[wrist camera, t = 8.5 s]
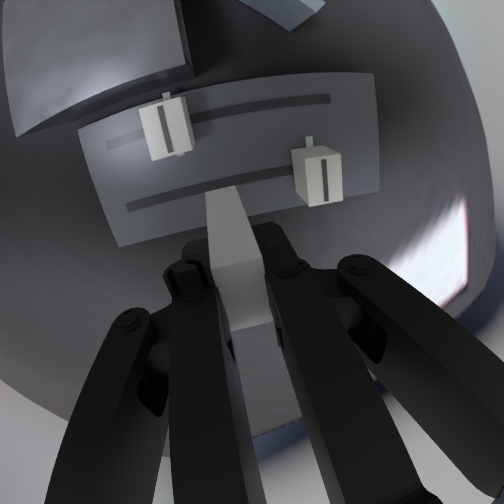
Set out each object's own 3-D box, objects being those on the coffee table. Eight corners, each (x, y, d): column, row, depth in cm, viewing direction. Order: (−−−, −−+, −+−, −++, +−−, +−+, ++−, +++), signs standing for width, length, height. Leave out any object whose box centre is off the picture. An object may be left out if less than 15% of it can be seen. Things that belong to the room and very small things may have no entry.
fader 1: (160, 151, 17) (151, 161, 14) (149, 107, 15) (138, 109, 13) (195, 142, 17) (192, 150, 14) (185, 97, 15) (179, 96, 13)
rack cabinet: (75, 120, 16) (16, 138, 9) (58, 19, 11) (3, 2, 4) (195, 78, 16) (185, 64, 10) (175, -27, 11) (160, -77, 4)
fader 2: (295, 191, 20) (309, 207, 17) (290, 149, 18) (305, 159, 15) (326, 186, 20) (343, 201, 17) (322, 145, 18) (341, 154, 16)
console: (124, 235, 22) (118, 248, 20) (87, 123, 17) (75, 126, 15) (367, 184, 23) (380, 192, 21) (360, 70, 17) (373, 69, 15)
